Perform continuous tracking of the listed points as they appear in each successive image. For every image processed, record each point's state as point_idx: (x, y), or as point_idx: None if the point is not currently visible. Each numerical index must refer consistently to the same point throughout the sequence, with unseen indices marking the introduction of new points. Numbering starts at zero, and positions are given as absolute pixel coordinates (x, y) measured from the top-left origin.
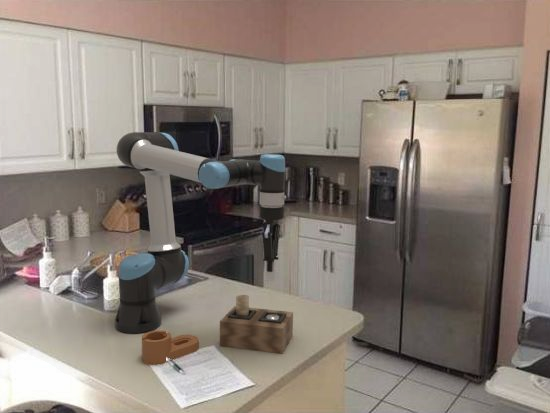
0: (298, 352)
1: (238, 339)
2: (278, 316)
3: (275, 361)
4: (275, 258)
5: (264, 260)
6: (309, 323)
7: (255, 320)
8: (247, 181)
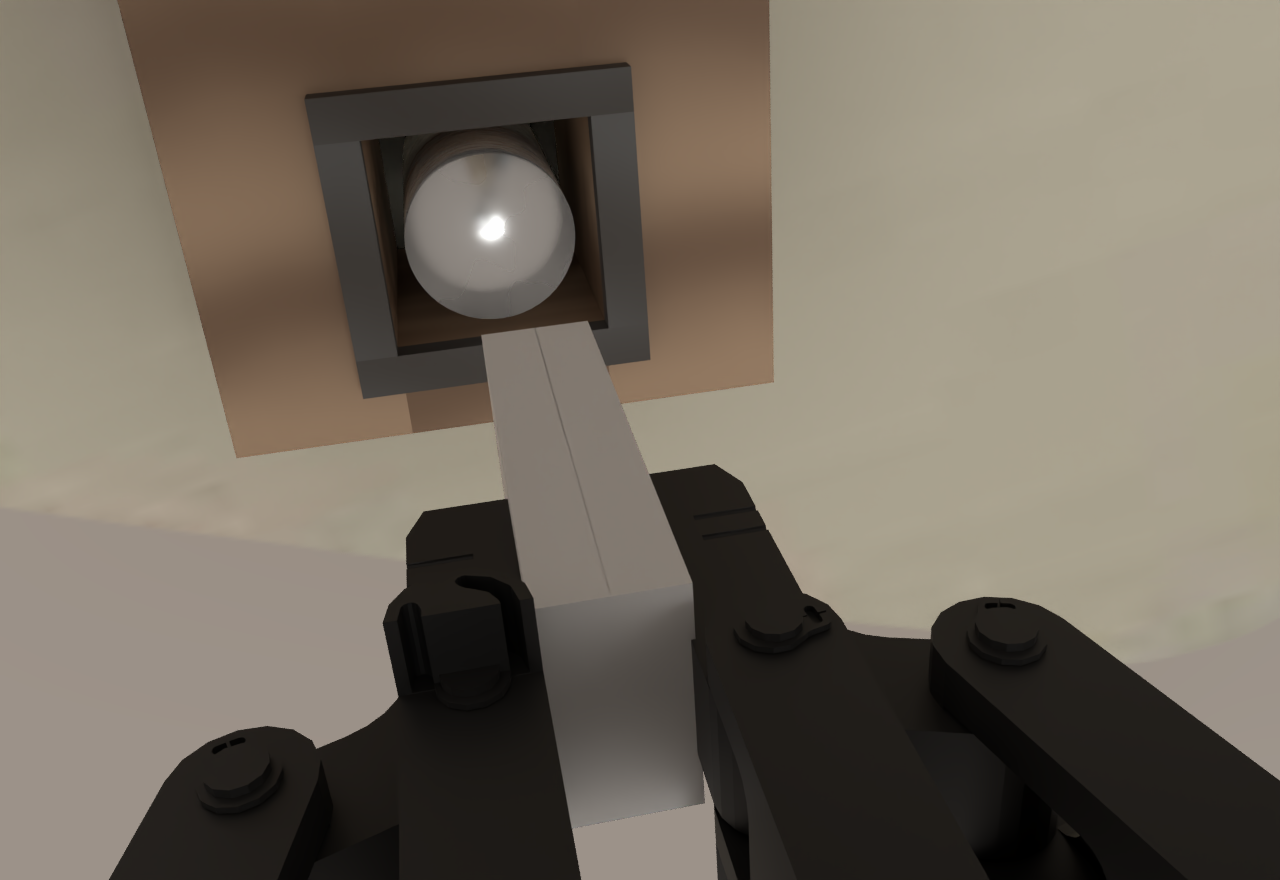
0: (368, 453)
1: None
2: (527, 303)
3: (82, 339)
4: (718, 837)
5: (405, 631)
6: (1030, 332)
7: (309, 44)
8: None
